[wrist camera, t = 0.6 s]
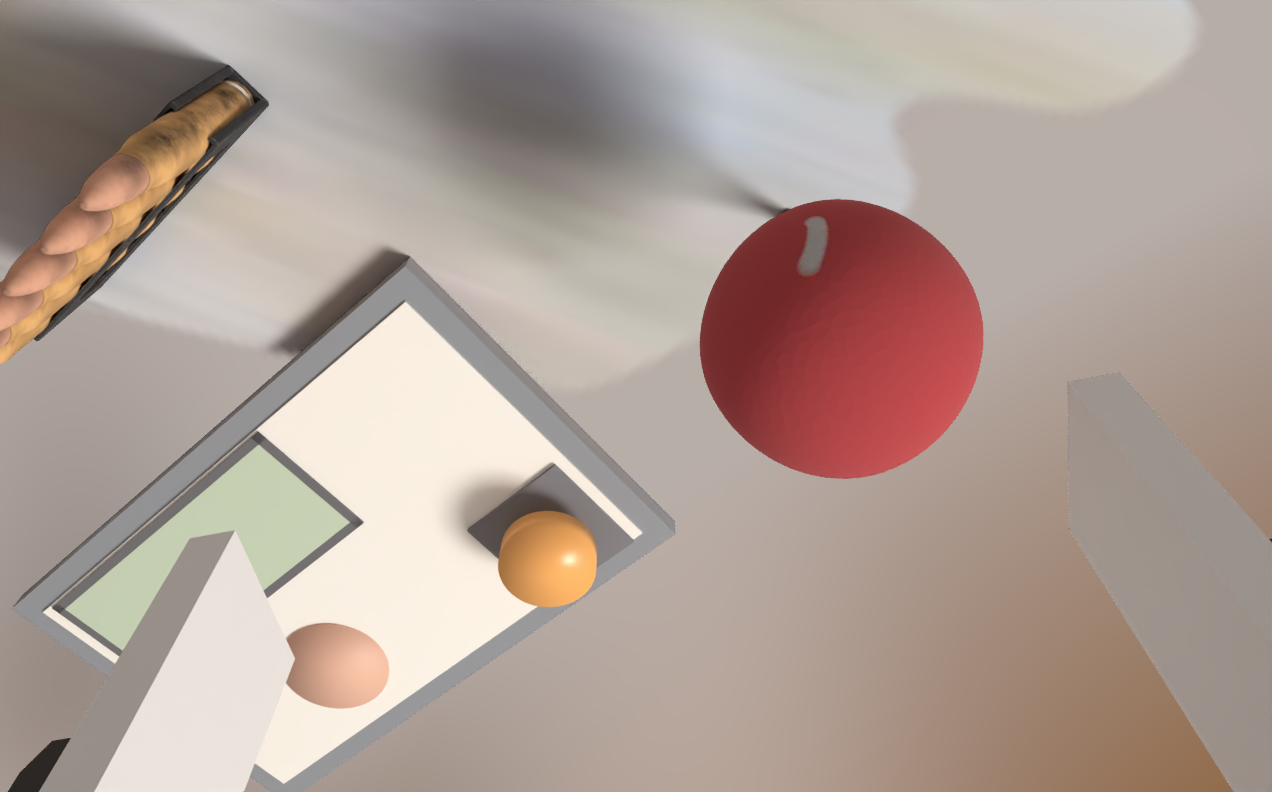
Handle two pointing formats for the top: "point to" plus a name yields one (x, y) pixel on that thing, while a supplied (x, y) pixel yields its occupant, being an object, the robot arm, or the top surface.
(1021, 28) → the top surface
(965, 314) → the lollipop
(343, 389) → the board
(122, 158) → the ammunition clip
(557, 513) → the button
